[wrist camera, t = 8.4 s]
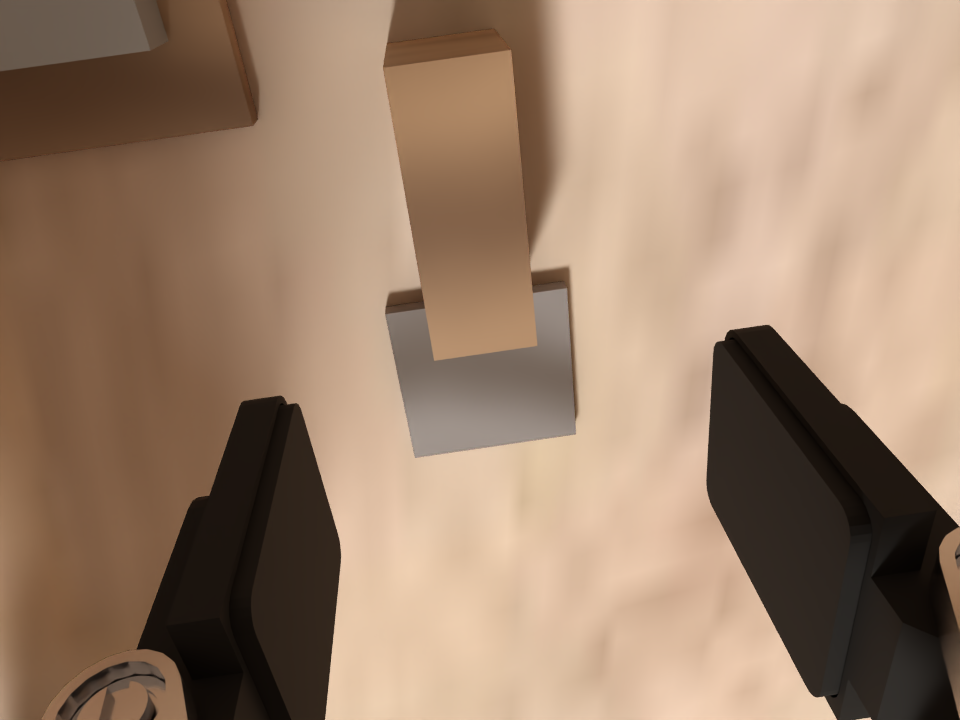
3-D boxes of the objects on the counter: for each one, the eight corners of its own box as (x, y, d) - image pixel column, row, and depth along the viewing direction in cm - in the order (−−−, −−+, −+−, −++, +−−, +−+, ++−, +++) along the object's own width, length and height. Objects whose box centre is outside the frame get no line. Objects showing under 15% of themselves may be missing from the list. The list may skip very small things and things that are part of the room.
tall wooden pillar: (572, 424, 28) (596, 495, 24) (414, 447, 28) (416, 522, 24) (547, 20, 21) (575, 41, 17) (333, 50, 21) (318, 76, 17)
